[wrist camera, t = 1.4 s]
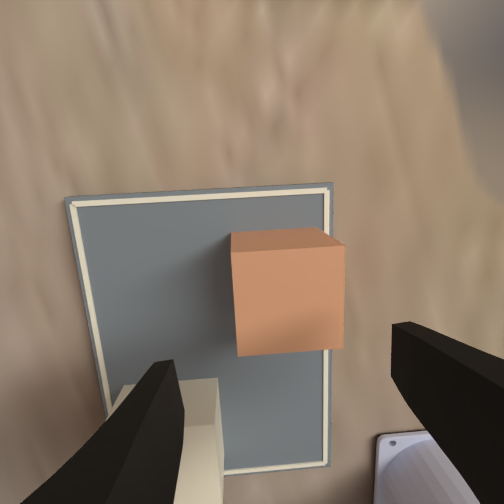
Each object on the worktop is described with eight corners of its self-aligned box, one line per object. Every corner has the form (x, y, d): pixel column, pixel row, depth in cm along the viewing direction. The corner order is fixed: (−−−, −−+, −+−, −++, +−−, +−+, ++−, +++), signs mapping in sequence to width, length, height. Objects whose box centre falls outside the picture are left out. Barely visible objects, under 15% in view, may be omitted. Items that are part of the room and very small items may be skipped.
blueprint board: (330, 182, 19) (360, 185, 14) (328, 459, 24) (350, 525, 19) (69, 196, 18) (16, 203, 14) (121, 478, 23) (94, 552, 18)
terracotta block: (316, 227, 19) (345, 245, 14) (316, 306, 20) (343, 348, 15) (231, 232, 19) (230, 252, 14) (236, 311, 20) (237, 356, 15)
